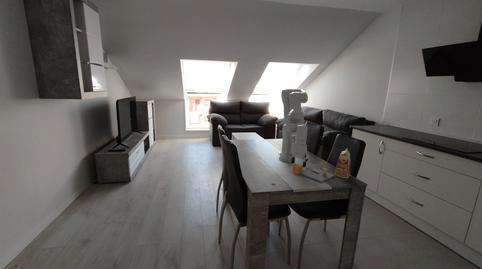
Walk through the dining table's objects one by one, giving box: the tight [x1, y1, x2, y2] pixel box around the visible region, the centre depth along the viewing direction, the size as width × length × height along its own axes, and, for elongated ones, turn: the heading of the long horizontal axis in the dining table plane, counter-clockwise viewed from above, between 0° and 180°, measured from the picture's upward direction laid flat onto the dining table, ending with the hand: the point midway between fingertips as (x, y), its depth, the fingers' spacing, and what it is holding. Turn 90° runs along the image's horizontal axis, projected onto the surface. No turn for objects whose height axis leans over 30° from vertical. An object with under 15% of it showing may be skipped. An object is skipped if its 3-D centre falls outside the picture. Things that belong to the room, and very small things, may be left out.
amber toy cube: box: [291, 163, 304, 175], centre depth 166 cm, size 5×5×6 cm
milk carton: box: [333, 148, 351, 179], centre depth 164 cm, size 9×9×20 cm
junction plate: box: [300, 167, 336, 184], centre depth 162 cm, size 16×18×6 cm
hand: (298, 165), depth 165 cm, fingers open, 9 cm apart
